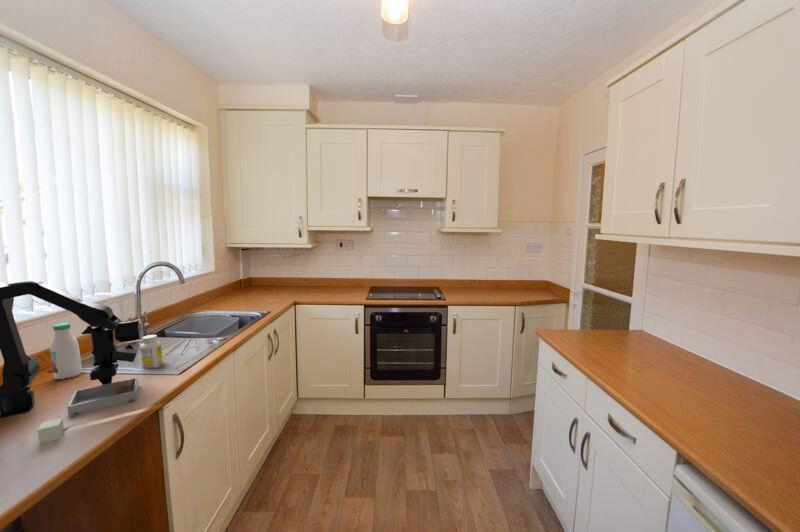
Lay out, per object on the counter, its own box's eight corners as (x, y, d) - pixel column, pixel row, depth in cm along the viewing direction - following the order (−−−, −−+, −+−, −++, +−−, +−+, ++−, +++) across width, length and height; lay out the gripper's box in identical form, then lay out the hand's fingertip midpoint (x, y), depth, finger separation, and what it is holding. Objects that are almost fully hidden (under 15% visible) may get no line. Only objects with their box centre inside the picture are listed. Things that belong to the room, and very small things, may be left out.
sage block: (39, 444, 90) (37, 430, 89) (43, 436, 93) (41, 422, 92) (61, 438, 92) (58, 424, 91) (64, 431, 95) (62, 417, 95)
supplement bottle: (160, 362, 141) (157, 332, 140) (165, 367, 137) (162, 335, 135) (140, 368, 136) (136, 336, 134) (145, 372, 132) (142, 340, 130)
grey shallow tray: (68, 419, 100) (66, 407, 100) (76, 400, 111) (75, 389, 111) (137, 402, 109) (136, 391, 109) (138, 386, 120) (137, 376, 120)
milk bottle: (86, 369, 135) (80, 320, 132) (76, 378, 128) (69, 326, 125) (61, 373, 132) (54, 322, 129) (49, 381, 125) (41, 328, 122)
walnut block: (116, 399, 110) (114, 388, 109) (117, 394, 113) (115, 383, 113) (131, 396, 112) (130, 384, 112) (132, 391, 115) (131, 380, 115)
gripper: (133, 347, 111) (137, 392, 113) (135, 332, 126) (139, 372, 128) (86, 355, 105) (93, 403, 107) (94, 338, 120) (100, 380, 122)
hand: (108, 388), depth 116 cm, fingers closed
